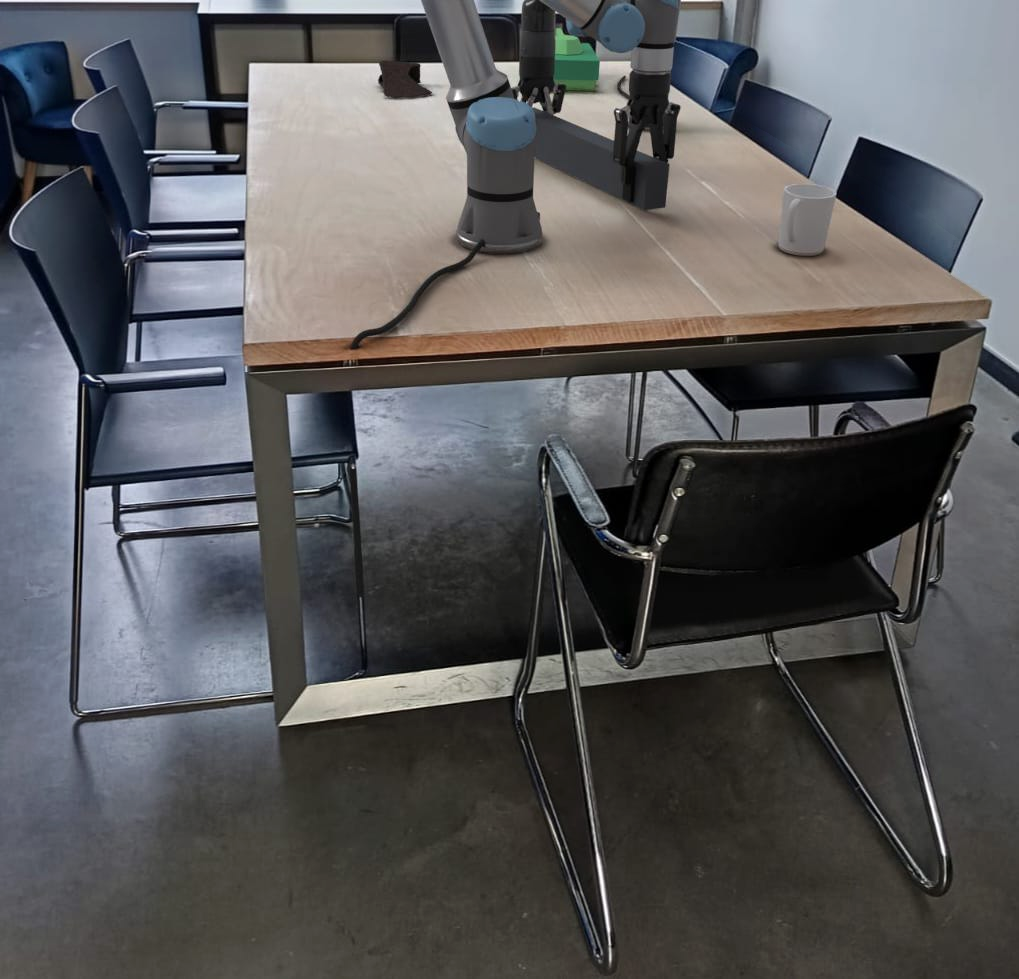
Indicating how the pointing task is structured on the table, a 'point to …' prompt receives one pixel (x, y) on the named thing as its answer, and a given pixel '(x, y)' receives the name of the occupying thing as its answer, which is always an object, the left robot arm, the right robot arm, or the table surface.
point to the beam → (598, 161)
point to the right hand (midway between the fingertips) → (534, 134)
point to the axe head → (401, 79)
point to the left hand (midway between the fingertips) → (640, 198)
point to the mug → (805, 218)
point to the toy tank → (575, 63)
